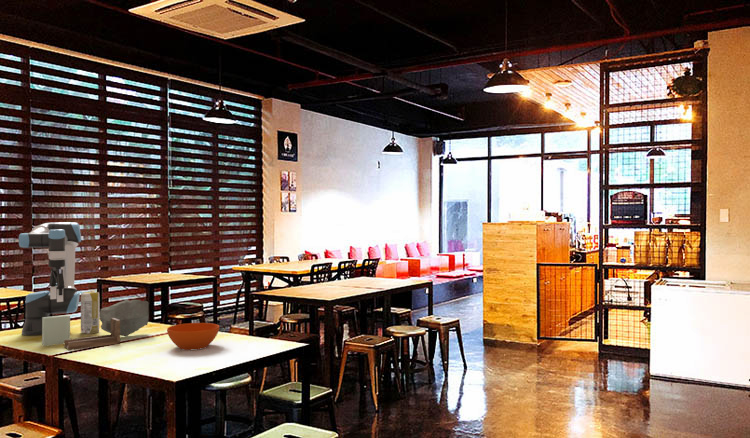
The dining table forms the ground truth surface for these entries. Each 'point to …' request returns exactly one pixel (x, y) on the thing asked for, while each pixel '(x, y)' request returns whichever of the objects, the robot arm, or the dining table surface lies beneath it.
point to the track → (96, 338)
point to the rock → (126, 316)
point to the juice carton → (90, 312)
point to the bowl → (193, 335)
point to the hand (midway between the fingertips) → (56, 300)
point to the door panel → (55, 329)
